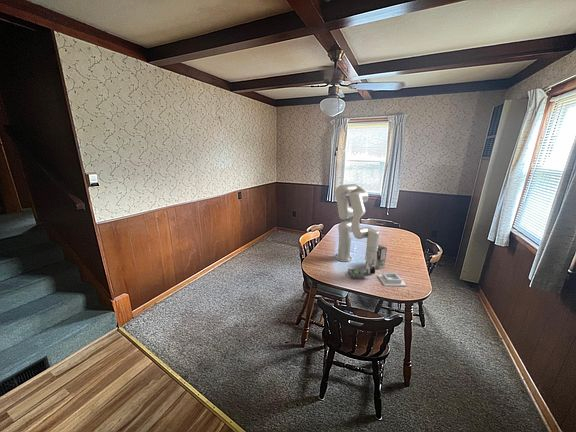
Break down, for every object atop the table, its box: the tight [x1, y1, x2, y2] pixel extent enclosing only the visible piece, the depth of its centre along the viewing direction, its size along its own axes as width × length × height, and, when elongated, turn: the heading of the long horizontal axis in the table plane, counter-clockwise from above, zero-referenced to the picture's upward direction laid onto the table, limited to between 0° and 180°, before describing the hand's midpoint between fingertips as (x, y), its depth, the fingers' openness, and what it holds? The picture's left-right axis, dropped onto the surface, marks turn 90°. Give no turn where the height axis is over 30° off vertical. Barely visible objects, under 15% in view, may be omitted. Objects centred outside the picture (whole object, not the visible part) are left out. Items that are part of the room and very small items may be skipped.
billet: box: [364, 262, 374, 277], centre depth 161 cm, size 5×5×8 cm
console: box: [347, 268, 366, 280], centre depth 159 cm, size 9×9×3 cm
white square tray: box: [377, 272, 407, 287], centre depth 152 cm, size 12×14×4 cm
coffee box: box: [376, 244, 388, 270], centre depth 171 cm, size 9×6×16 cm
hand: (370, 270), depth 160 cm, fingers open, 9 cm apart
